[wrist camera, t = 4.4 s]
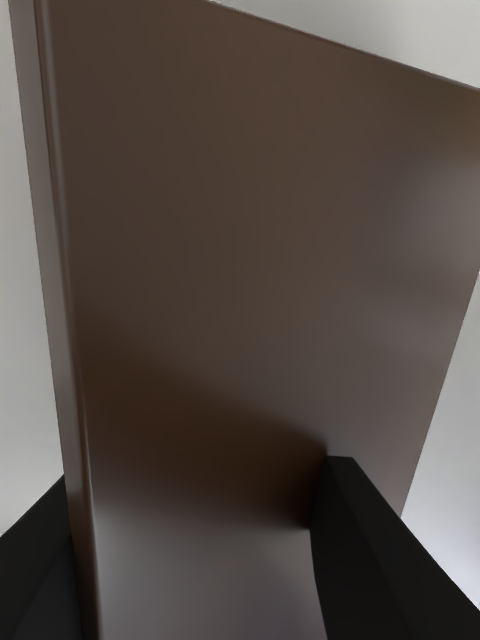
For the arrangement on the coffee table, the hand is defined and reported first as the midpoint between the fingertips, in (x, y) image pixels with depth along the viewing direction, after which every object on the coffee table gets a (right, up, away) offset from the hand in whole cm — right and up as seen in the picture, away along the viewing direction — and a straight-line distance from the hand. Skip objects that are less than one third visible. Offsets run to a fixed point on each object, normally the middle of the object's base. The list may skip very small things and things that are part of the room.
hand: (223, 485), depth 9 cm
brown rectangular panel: (+2, 0, +1) cm, 2 cm away
